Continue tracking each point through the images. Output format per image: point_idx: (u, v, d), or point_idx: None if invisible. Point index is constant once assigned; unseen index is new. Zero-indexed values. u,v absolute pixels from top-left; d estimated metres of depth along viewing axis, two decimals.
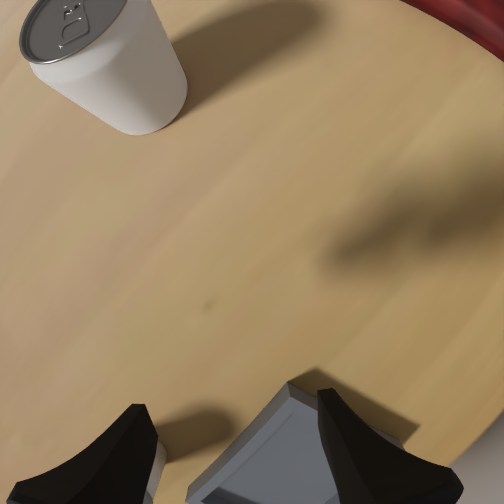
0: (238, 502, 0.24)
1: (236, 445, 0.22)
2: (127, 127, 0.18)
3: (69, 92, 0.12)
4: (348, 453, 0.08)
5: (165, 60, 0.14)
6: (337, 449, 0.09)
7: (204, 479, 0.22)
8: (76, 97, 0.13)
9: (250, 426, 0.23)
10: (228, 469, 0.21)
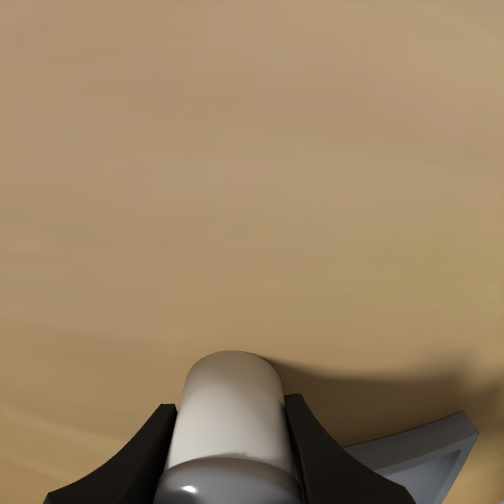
0: None
1: (371, 453, 0.14)
2: None
3: None
4: (303, 461, 0.08)
5: None
6: (298, 456, 0.09)
7: None
8: None
9: (400, 438, 0.15)
10: None
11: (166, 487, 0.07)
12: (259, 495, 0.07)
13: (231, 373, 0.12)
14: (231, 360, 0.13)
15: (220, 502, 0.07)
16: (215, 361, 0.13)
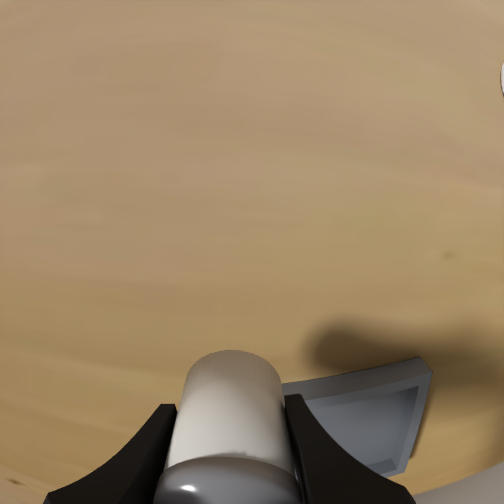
0: None
1: (342, 382, 0.21)
2: None
3: None
4: (303, 461, 0.08)
5: None
6: (298, 456, 0.09)
7: None
8: None
9: (366, 373, 0.21)
10: (320, 403, 0.20)
11: (166, 486, 0.07)
12: (259, 494, 0.07)
13: (231, 373, 0.12)
14: (231, 360, 0.13)
15: (220, 501, 0.07)
16: (215, 361, 0.13)
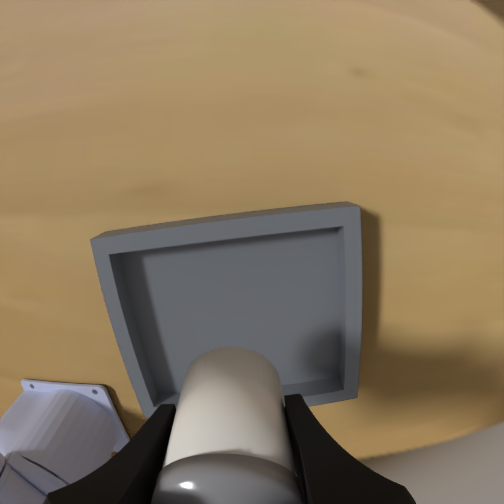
0: (136, 303, 0.20)
1: (234, 216, 0.18)
2: None
3: None
4: (303, 461, 0.08)
5: None
6: (298, 456, 0.09)
7: (147, 228, 0.18)
8: None
9: (269, 210, 0.18)
10: (199, 232, 0.17)
11: (163, 484, 0.07)
12: (255, 491, 0.07)
13: (227, 370, 0.12)
14: (227, 357, 0.13)
15: (217, 499, 0.07)
16: (212, 358, 0.13)
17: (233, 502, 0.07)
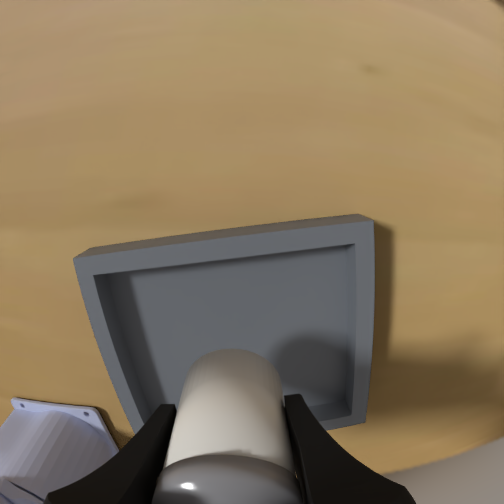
0: (126, 325, 0.17)
1: (232, 231, 0.16)
2: None
3: None
4: (302, 461, 0.08)
5: None
6: (298, 456, 0.09)
7: (134, 246, 0.16)
8: None
9: (271, 224, 0.16)
10: (192, 252, 0.15)
11: (162, 485, 0.07)
12: (254, 491, 0.07)
13: (228, 371, 0.12)
14: (227, 358, 0.13)
15: (216, 499, 0.07)
16: (212, 360, 0.13)
17: (233, 503, 0.07)
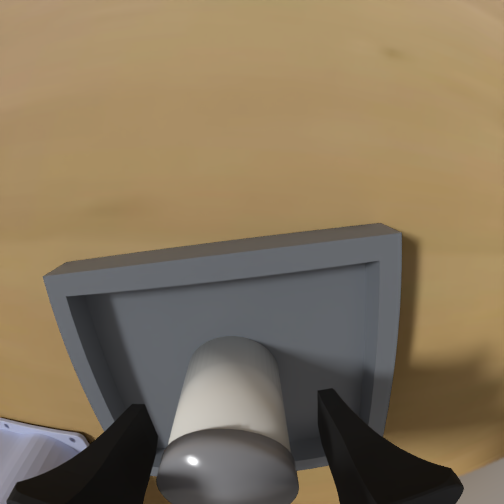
0: (108, 351, 0.15)
1: (229, 245, 0.13)
2: None
3: None
4: (348, 453, 0.08)
5: None
6: (337, 449, 0.09)
7: (112, 262, 0.13)
8: None
9: (277, 236, 0.14)
10: (181, 272, 0.12)
11: (168, 458, 0.08)
12: (252, 463, 0.08)
13: (228, 356, 0.13)
14: (228, 345, 0.14)
15: (217, 472, 0.08)
16: (214, 346, 0.14)
17: (232, 475, 0.08)
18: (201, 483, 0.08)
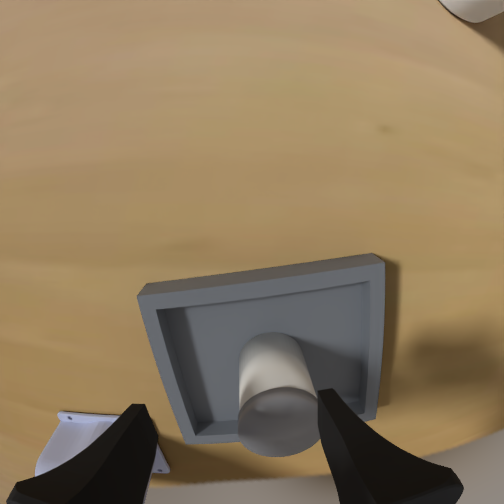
0: (179, 347, 0.21)
1: (272, 272, 0.20)
2: None
3: None
4: (348, 453, 0.08)
5: None
6: (337, 449, 0.09)
7: (191, 285, 0.19)
8: None
9: (303, 265, 0.20)
10: (243, 291, 0.19)
11: (248, 409, 0.15)
12: (300, 406, 0.14)
13: (273, 345, 0.19)
14: (271, 338, 0.20)
15: (279, 414, 0.15)
16: (261, 339, 0.20)
17: (288, 416, 0.15)
18: (267, 424, 0.15)
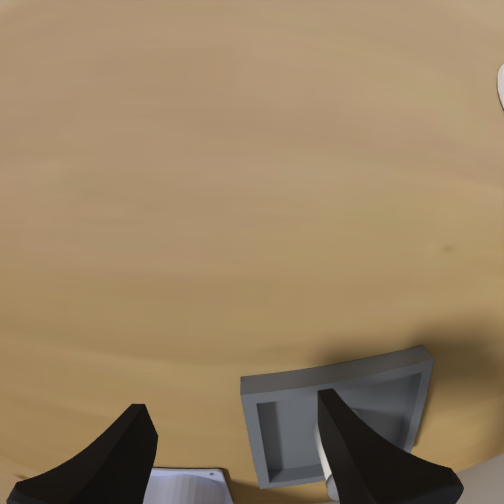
0: (265, 422, 0.24)
1: (350, 368, 0.22)
2: None
3: None
4: (348, 453, 0.08)
5: None
6: (337, 449, 0.09)
7: (286, 382, 0.22)
8: None
9: (372, 360, 0.23)
10: (330, 387, 0.21)
11: None
12: None
13: None
14: None
15: None
16: None
17: None
18: None
